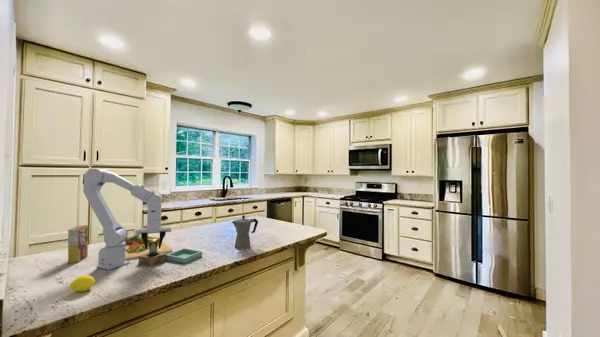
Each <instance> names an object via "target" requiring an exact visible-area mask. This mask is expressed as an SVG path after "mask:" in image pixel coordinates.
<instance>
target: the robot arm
mask: <svg viewBox="0 0 600 337" xmlns="http://www.w3.org/2000/svg"><path fill="white" fill-rule="evenodd" d="M82 180H83V189H82V191H83V195H84V197H85V198H86V199H87V201H88V204H89V205H90V206H91V208H92V210H93V212H94V214H95V216H96V217H97V219H98V222H99V223H100V224H101V227H102V235H103V241H104V244H105V246H104V247H102V248H100V249H99V251H98V258H97V260H98V261H97V265H96V267H97V268H100V269H104V270H108V271H109V270H112V269H116V268H119V267H121V266H124V265H127V264H130V263H131V261H130V260H126V261H125V252H126V242H125V239H126V238H127V237H129V236H128V235H129V234H128V233H129V232H128V230H127V229H126V228H124V227H123V226H122V224H121V223H119V222H118V221H117V219H116V218H115V216H114V214H113V213H112V211H111V209H110V207H109V206H108V203H107V202H106V199H105V198H104V196H103V194H102V192H101V189H102V188H103V186H104V185H106V183H113V184H115V185H117V186H119V187H121V188H123V189H125V190H127V191H129V192H130V194H131V197H132V196H133V197H135V198H136V199H138V200H139V201H141V202H143V203H144V202H145V203H146V205H147V211H146V212H147V216H146V218H147V219H146V228H140V229H135V230H134V235H138V234H140V237H142V239H143V241H144V244H145V248H146V250H147V249H148V242H147V240H148V236H149V235H148V234H157V233H158V234H159V238H160V241H159V248H161V243H162V241H163V242H164V238H165V237H166V234H167V233H171V232H172V227H171V226H170V227H167V226H166V227H162V202H163V200H164V198H163V196H162V195H161V194H160V192H156V191H155V190H151V189H149V188H147V187H146V185H145V184H134V183H132V182H131V181H128V180H127V179H126V178H124V177H123V176H120V175H119V174H117V173H115V172H113V171H111V170H109V169H108V168H102V167H101V168H90V169H88V170H87V171H86V172H85V173H84V174H83V177H82Z"/></svg>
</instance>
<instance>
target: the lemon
mask: <svg viewBox="0 0 600 337" xmlns="http://www.w3.org/2000/svg"><path fill="white" fill-rule="evenodd" d="M95 283H96V280H95V279H94V277H93V276H91V275H88V274H85V275H80V276H77V277H76V278H75V279H74V280H72V281H71V282H70V283H69V286H70V288H72V289H73V290H74V291H75V292H81V293H82V292H83V293H84V292H86V291H88V290H90V289H91V288H92V287H93V286H94V285H95Z"/></svg>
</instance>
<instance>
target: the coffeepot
mask: <svg viewBox="0 0 600 337" xmlns="http://www.w3.org/2000/svg"><path fill="white" fill-rule="evenodd" d="M241 217H242V218H239V219H236V220H232V222H231V224H233V226H234V227H235V232H236V238H235V244H234V248H235V249H237V248H238V249H237V250H243V249H242V248H247V249H249V248H251V239H250V230H251V226H252V225H251V224H252V223H254V226H253V230H252V231H251V234H254V233H255V232H256V230H257V227H258V225H259V221H258V219H256V218H250V219H247V218H246V216H245V214H244V215H241ZM248 247H249V248H248Z"/></svg>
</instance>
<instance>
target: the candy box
mask: <svg viewBox="0 0 600 337" xmlns="http://www.w3.org/2000/svg"><path fill="white" fill-rule="evenodd" d="M88 226H89V225H85V224H83V225H76V226H75V227H72V228H70V229H68V230H67V233H68V235H67V236H68V237H67V240H68V243H67V257H68V258H67V263H68V264H76V263H77V264H78V263H80V262H81V261H83V260H84V259H86V258H87V257H89V256H88V255H89V253H88V252H89V250H88V249H89V239H88V238H89V235H88V233H89V232H88V230H89V229H88V228H89V227H88Z"/></svg>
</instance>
